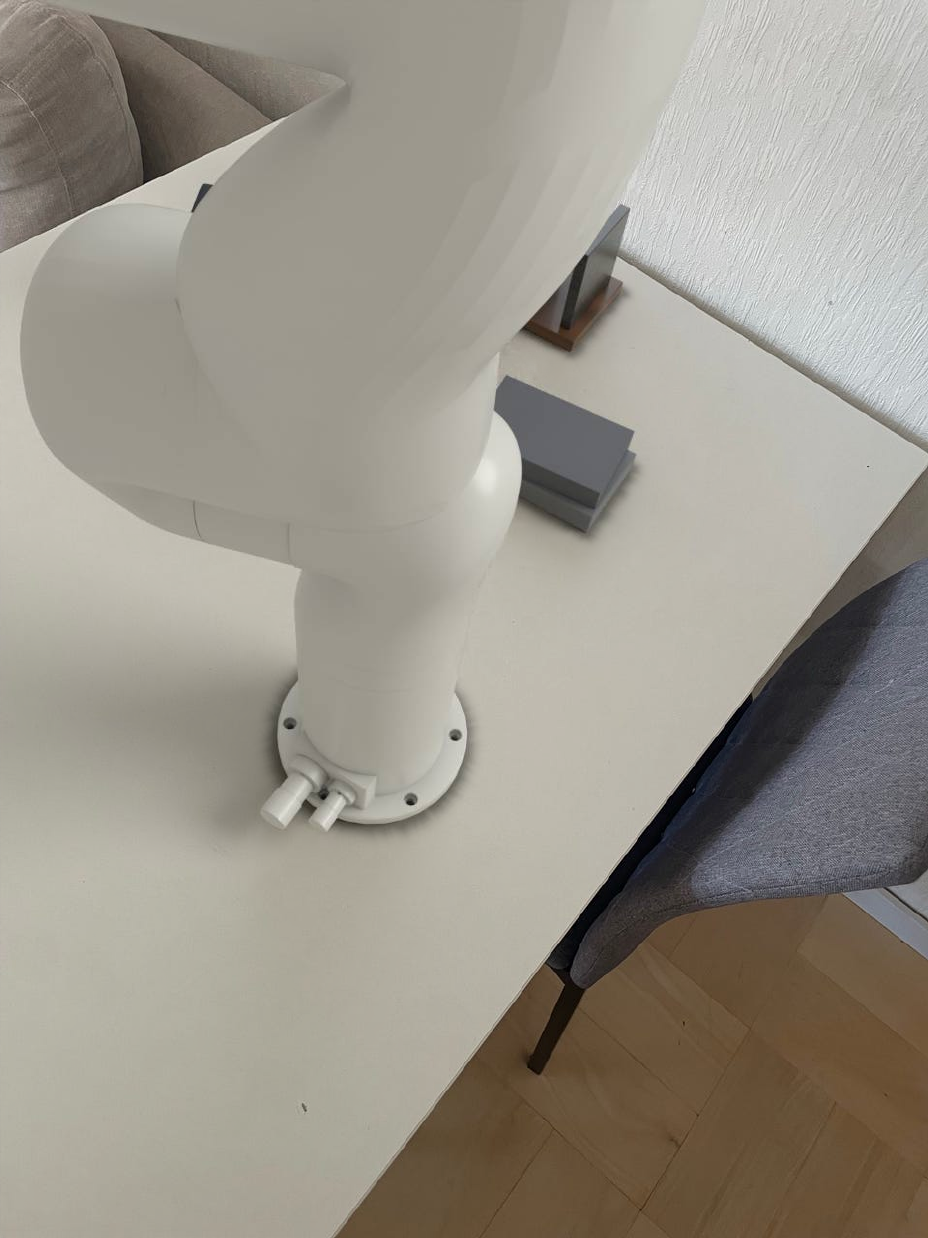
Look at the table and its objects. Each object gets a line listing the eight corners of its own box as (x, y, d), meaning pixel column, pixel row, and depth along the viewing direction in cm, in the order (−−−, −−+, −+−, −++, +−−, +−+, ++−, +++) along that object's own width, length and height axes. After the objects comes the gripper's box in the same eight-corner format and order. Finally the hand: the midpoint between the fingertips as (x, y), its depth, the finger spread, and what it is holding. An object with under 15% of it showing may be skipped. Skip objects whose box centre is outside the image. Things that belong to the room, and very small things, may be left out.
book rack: (570, 352, 91) (599, 247, 81) (356, 243, 95) (359, 131, 86) (620, 291, 96) (652, 186, 86) (414, 191, 100) (423, 80, 91)
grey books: (585, 534, 80) (596, 503, 77) (453, 462, 82) (459, 429, 79) (631, 468, 84) (644, 435, 81) (505, 401, 87) (512, 367, 83)
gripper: (413, -354, 49) (392, 18, 63) (741, -238, 45) (640, 128, 59) (492, -382, 52) (455, -25, 67) (800, -276, 49) (692, 76, 63)
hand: (542, 47), depth 63 cm, fingers open, 9 cm apart
